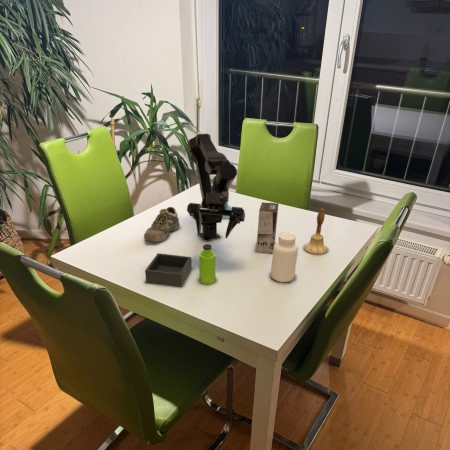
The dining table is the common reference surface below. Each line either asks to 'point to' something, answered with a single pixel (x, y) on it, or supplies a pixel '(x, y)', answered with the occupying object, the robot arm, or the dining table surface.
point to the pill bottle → (284, 258)
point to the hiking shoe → (163, 225)
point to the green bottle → (207, 265)
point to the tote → (168, 269)
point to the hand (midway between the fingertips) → (212, 236)
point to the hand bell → (317, 237)
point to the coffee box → (267, 227)
